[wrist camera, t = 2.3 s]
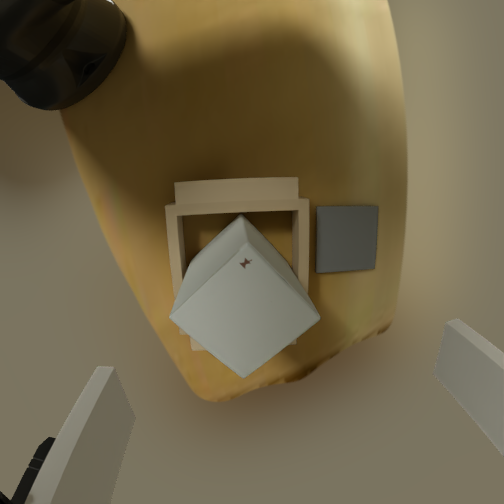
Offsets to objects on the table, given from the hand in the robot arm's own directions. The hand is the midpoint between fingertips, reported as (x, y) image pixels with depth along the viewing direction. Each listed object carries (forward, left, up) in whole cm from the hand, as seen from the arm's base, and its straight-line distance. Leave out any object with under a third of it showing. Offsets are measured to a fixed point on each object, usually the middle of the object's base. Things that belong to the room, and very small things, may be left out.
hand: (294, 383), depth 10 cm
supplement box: (-1, -2, -21) cm, 21 cm away
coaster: (+10, 0, -21) cm, 23 cm away
